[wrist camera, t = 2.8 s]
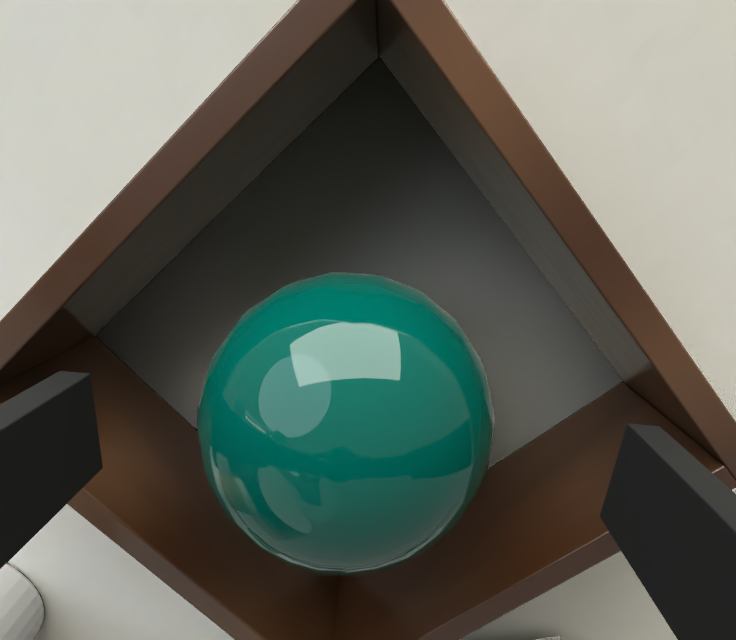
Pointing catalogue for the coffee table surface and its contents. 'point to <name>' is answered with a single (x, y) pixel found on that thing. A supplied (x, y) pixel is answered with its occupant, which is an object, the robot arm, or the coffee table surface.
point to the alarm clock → (550, 638)
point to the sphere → (345, 424)
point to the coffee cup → (18, 606)
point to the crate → (502, 481)
